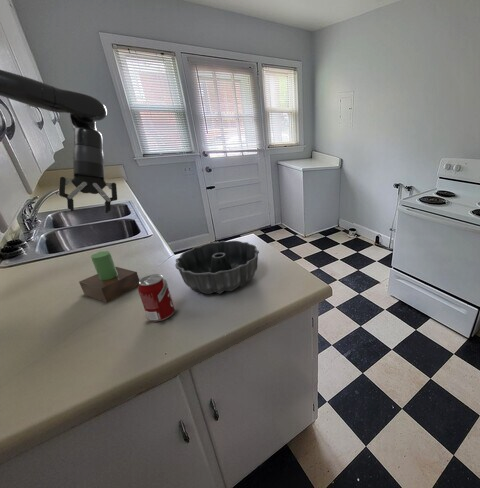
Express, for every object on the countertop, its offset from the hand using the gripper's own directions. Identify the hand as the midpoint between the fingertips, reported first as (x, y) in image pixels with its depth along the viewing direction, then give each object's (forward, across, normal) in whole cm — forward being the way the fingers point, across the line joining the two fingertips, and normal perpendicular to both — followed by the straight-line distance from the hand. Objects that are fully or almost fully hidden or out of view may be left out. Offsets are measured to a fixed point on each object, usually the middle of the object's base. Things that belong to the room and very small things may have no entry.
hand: (89, 212), depth 89 cm
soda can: (+29, +14, -32) cm, 45 cm away
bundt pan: (+22, +34, -26) cm, 48 cm away
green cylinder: (+21, +4, -8) cm, 22 cm away
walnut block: (+25, +5, -6) cm, 27 cm away
